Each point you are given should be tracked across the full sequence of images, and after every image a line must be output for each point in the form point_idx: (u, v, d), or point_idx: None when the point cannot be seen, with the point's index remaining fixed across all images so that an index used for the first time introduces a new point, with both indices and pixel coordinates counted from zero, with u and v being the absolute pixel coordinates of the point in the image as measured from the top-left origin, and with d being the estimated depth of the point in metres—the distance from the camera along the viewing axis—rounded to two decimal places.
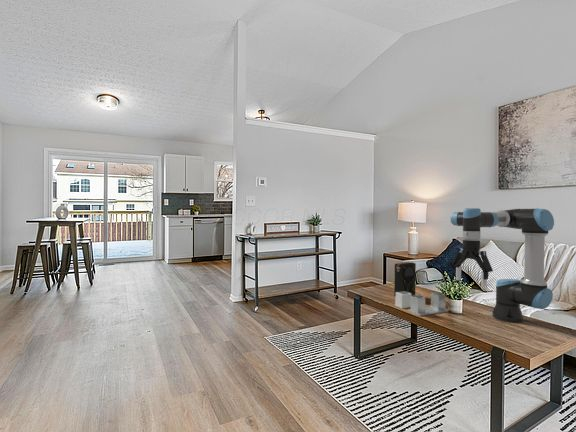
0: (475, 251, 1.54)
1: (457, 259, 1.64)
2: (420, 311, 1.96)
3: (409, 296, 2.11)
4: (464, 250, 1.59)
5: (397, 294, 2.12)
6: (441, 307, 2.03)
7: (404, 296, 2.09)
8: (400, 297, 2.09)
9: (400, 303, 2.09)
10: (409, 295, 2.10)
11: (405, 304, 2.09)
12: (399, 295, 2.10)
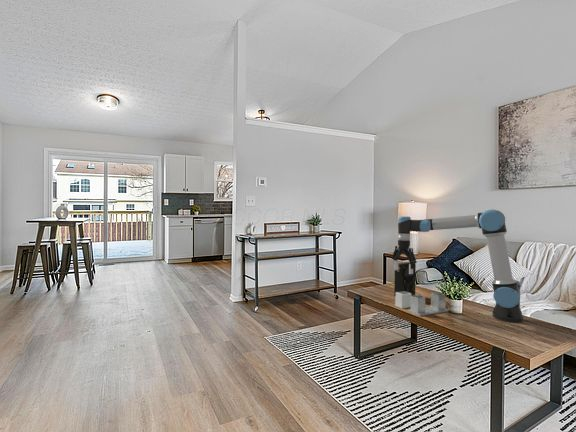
0: (405, 248, 2.09)
1: (395, 254, 2.19)
2: (420, 311, 1.96)
3: (409, 296, 2.11)
4: (399, 247, 2.14)
5: (397, 294, 2.12)
6: (441, 307, 2.03)
7: (404, 296, 2.09)
8: (400, 297, 2.09)
9: (400, 303, 2.09)
10: (409, 295, 2.10)
11: (405, 304, 2.09)
12: (399, 295, 2.10)
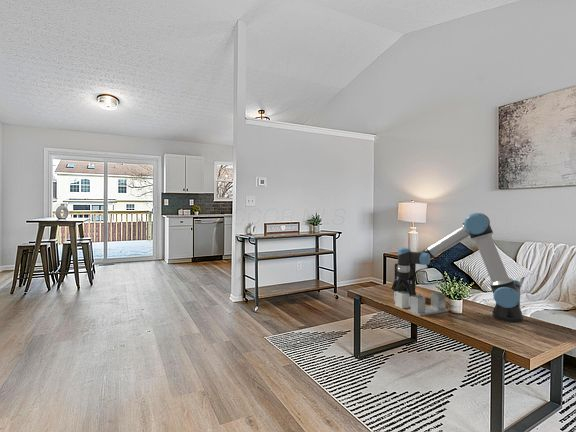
0: (405, 280, 2.09)
1: (395, 285, 2.19)
2: (420, 311, 1.96)
3: None
4: (399, 279, 2.14)
5: (397, 294, 2.12)
6: (441, 307, 2.03)
7: (404, 296, 2.09)
8: (400, 297, 2.09)
9: (400, 303, 2.09)
10: (409, 295, 2.10)
11: (405, 304, 2.09)
12: (399, 295, 2.10)
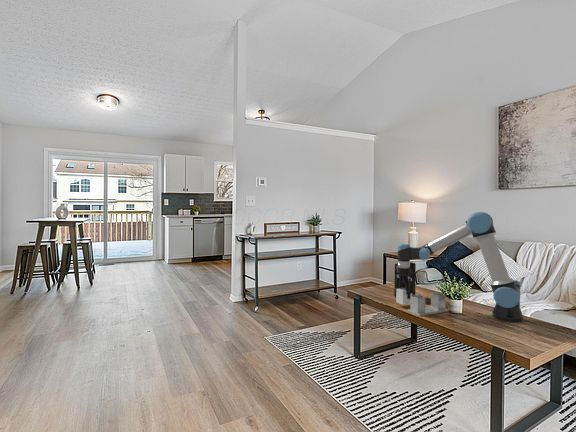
0: (406, 276, 2.09)
1: (398, 284, 2.17)
2: (420, 311, 1.96)
3: None
4: (399, 275, 2.14)
5: (398, 290, 2.12)
6: (441, 307, 2.03)
7: (404, 292, 2.08)
8: (401, 293, 2.09)
9: (401, 299, 2.09)
10: None
11: None
12: (400, 291, 2.10)
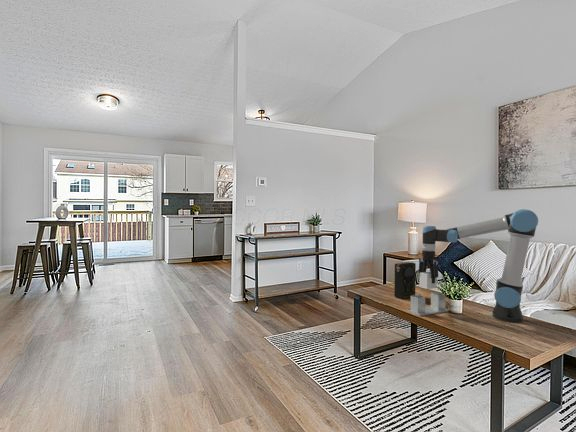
0: (431, 259, 1.98)
1: (421, 268, 2.07)
2: (420, 311, 1.96)
3: None
4: (423, 258, 2.04)
5: (422, 274, 2.02)
6: (441, 307, 2.03)
7: (429, 276, 1.98)
8: (425, 277, 1.99)
9: (425, 283, 1.99)
10: None
11: None
12: (424, 275, 2.00)
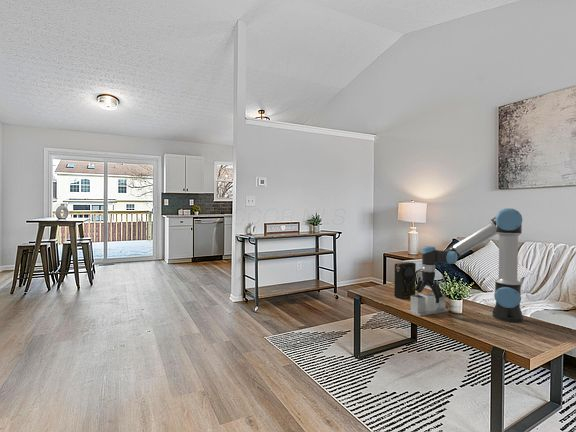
0: (431, 280, 1.99)
1: (419, 286, 2.09)
2: (420, 311, 1.96)
3: None
4: (423, 279, 2.04)
5: None
6: (441, 307, 2.03)
7: (429, 299, 1.99)
8: (425, 299, 1.99)
9: (425, 306, 1.99)
10: None
11: (430, 307, 1.99)
12: None
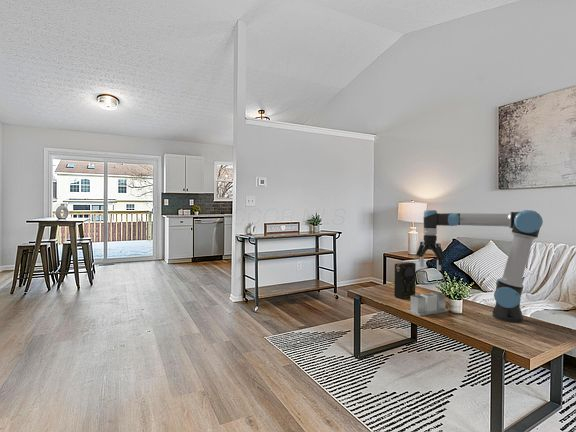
0: (432, 243, 1.98)
1: (420, 250, 2.08)
2: (420, 311, 1.96)
3: (435, 299, 2.00)
4: (425, 243, 2.04)
5: None
6: (441, 307, 2.03)
7: (429, 299, 1.99)
8: (425, 299, 1.99)
9: (425, 306, 1.99)
10: (435, 297, 2.00)
11: (430, 307, 1.99)
12: None
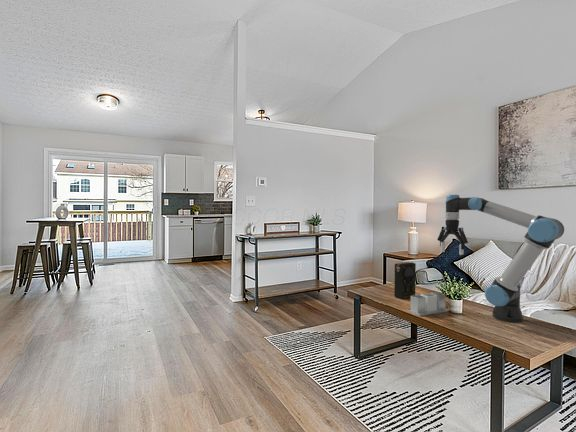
0: (455, 228, 1.98)
1: (442, 235, 2.08)
2: (420, 311, 1.96)
3: (435, 299, 2.00)
4: (447, 228, 2.03)
5: None
6: (441, 307, 2.03)
7: (429, 299, 1.99)
8: (425, 299, 1.99)
9: (425, 306, 1.99)
10: (435, 297, 2.00)
11: (430, 307, 1.99)
12: None
